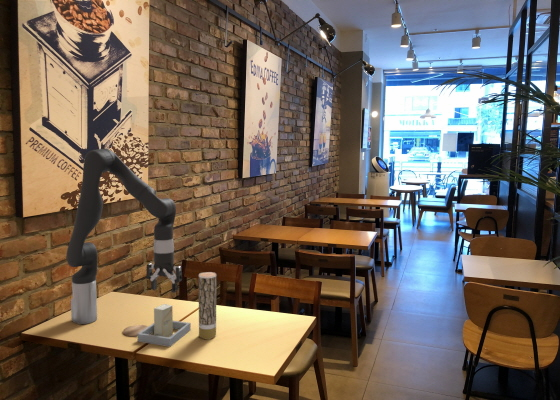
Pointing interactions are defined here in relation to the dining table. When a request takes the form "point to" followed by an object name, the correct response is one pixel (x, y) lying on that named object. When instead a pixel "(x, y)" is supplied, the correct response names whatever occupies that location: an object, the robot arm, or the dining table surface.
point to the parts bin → (160, 340)
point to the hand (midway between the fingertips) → (164, 291)
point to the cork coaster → (134, 330)
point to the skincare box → (163, 320)
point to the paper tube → (207, 305)
